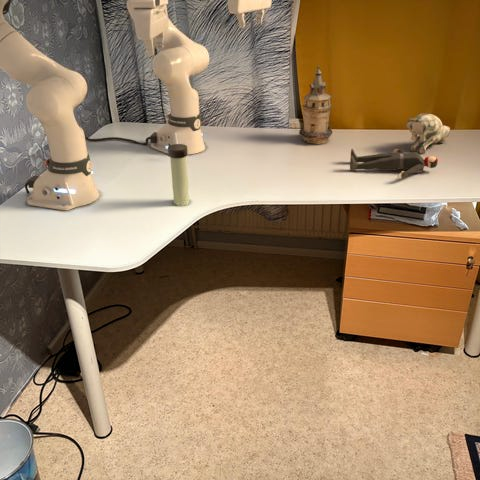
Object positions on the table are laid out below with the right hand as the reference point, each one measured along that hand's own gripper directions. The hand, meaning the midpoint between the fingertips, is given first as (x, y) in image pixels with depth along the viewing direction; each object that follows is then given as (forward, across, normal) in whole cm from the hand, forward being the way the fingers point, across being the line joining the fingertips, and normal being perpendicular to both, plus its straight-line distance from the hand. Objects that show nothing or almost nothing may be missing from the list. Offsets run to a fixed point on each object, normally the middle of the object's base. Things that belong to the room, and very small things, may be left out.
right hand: (250, 25), depth 175 cm
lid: (+30, +40, 0) cm, 50 cm away
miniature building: (+48, -37, +7) cm, 61 cm away
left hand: (+2, +42, -3) cm, 43 cm away
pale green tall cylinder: (+48, +40, 0) cm, 62 cm away
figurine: (+48, -52, +48) cm, 86 cm away
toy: (+48, -23, +45) cm, 70 cm away
